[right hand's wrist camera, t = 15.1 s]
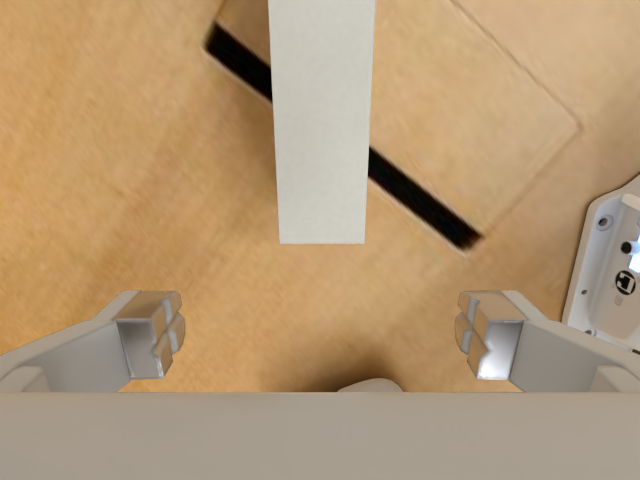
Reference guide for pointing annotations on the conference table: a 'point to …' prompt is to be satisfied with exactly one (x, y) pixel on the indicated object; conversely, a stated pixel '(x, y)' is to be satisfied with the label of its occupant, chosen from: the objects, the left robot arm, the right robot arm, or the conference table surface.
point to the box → (321, 117)
